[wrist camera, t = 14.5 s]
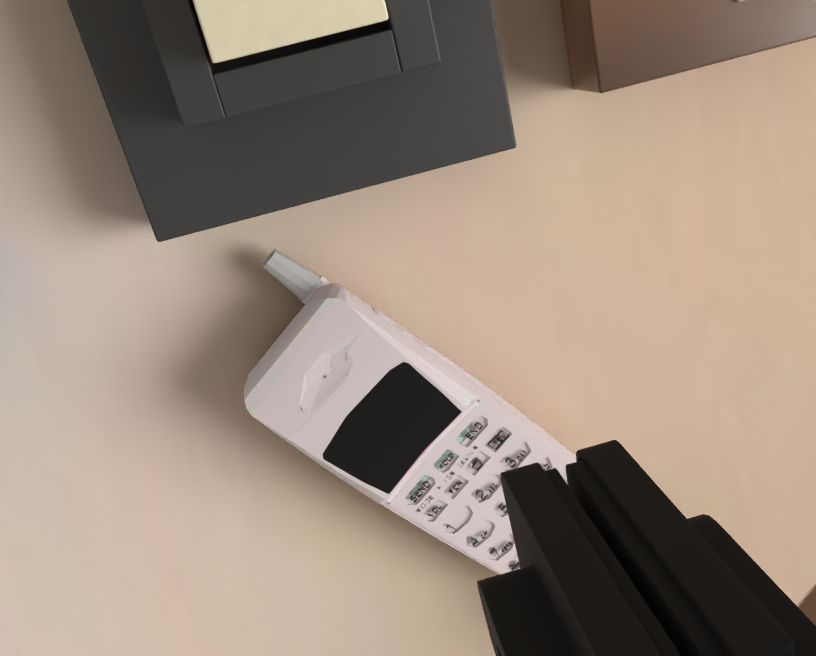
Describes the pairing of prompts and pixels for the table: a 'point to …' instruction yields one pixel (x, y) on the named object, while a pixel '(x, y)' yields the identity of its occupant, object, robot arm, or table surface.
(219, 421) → the table surface
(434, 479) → the mobile phone
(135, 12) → the keyboard block
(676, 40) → the volume panel
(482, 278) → the table surface
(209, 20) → the key
